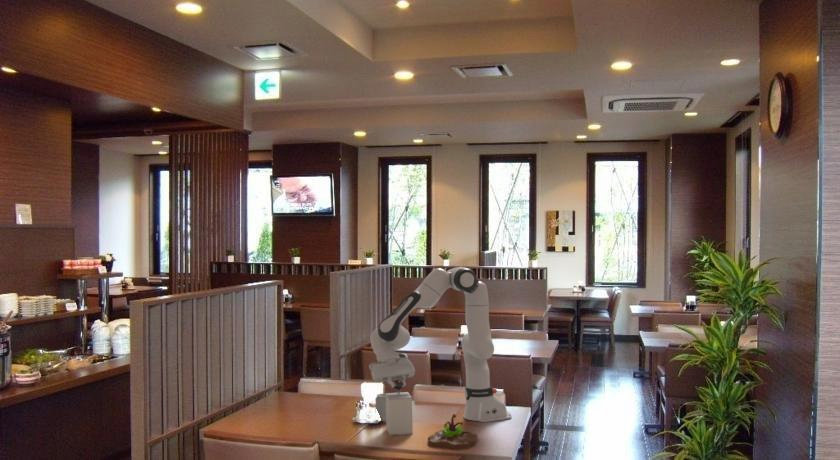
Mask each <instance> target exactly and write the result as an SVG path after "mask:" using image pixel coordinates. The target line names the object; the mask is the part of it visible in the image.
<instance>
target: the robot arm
mask: <svg viewBox="0 0 840 460" xmlns="http://www.w3.org/2000/svg"><path fill="white" fill-rule="evenodd" d="M448 289H451V290H456V291H459V292H463V295H464V297H465V300H464V301H465V305H464V306H465V309H464V311H465V317H464V318H465V324H466V328H467V332H466V334H464V335H463V337H462V338H461V341H460V343H461V348H462V354H463V360H464V365H465V385H466V386H465V387H464V389H465V390H464V398H465V407H464V413H463V416H462V417H463V418H464V419H465V420H468V421H474V422H480V423H488V422H495V421H503V420H509V419H512V414H511V413H510V412H509V411H508V410H507V406H506V404H505V402H504V401H503V400H502V399H501V398H499V397H497V395H495V394H497V392H498V390H497V389H496V388H494V387H492V386H490V384H491V383H490V368H489V364H488V360H489V359H490V358H492V356H493V355H494V353H495V352H494V351H495V346H494V342H493V339H492V332H491V324H490V311H489V309H490V303H489V302H490V301H489V292H488V287H487V284H486V283H485V282H484V281H480V280H478V278H477V275H476V274H475V272H474V271H473V270H472V269H470V268H468V267H464V266H455V267H454V266H453V267H451V268H448V269H447V270H445V269H444V268H440V267H436V268H434V269H433V270H431V272H430V273H428V274H427V276H426V277H425V278H424V279H423V280H422V281H421V283H420V285H419V286H418V287H417V288H416V289H415V290H414V291H411V292H410V293H409V294H408V295H407V296H405V298H403V300H402V301H401V302H400V303H399V304H398V305H397V306H396V307H395V308H394V310H393V311H392V312H391V313H390V314H389V315H388V316H386V317H385V318H383V319H382V320H381V321H380V322H379V324H378V326H377V328H375V329H373V331H372V332H371V333H370V337H369V341H370V345H371V348H372V351H373V353H374V354H375V355H376V356H375V357H376V360H377V361H376V362H374V361H373V362H370V363H369V364H368V368H369V370H370V373H371V377H372V380H373V381H374V382H376V383H379V382H386V383H387V384H389V385H390V386H391V389H395V387H396V384H395V382H393V380H394V381H395V380H401V381H403V387H406V385H407V383H406V378H413V377H414V375H415V374H416V368H415V366H414V364H413V363H412V362H411V360H410V359H408V358H409V356H408V354H406V353H400V352H398V350H401V349H403V348H404V347H406V346H407V345H408V344H409V343H410V340H411V334H410V333H411V332H409V330H408V329H407V328H405V327H404V326H403V325H402V323H403V321H404V320H405V319H406V318H407V317H408V316H409V315H410V313H412V312H413V310H415V309H419V308H421V309H422V308H423V309H430V308H432V307H434V306H435V305H436V304H437V303H438V302H439V300H440V299H441V298H442V296H443V295H444V294H445V292H446V291H447V290H448Z"/></svg>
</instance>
